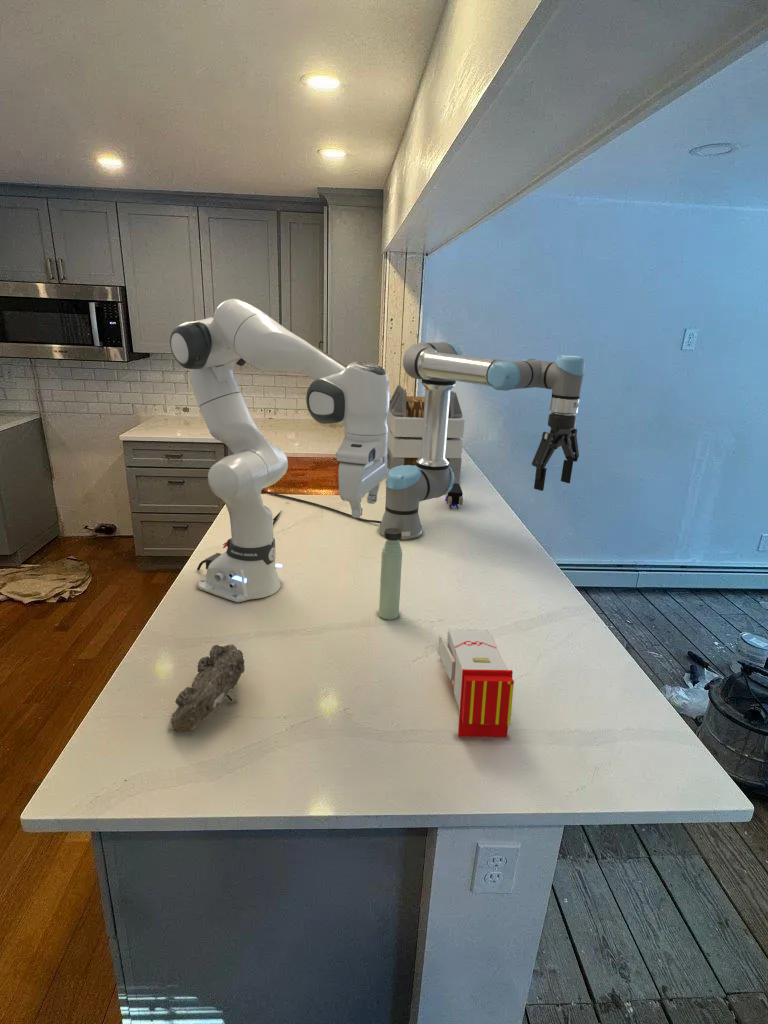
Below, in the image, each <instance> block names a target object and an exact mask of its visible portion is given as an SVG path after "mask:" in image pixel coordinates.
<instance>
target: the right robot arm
mask: <svg viewBox="0 0 768 1024" xmlns="http://www.w3.org/2000/svg"><path fill="white" fill-rule="evenodd" d="M585 365H586V360H585V358H584V357H582V356H578V355H566V354H565V355H564V354H563V355H558V356H557V357H556V360H555V361H549V360H541V359H536V358H524V359H521V360H506V359H505V360H504V359H503V360H502V359H496V358H487V357H479V356H471V355H464V354H463V352H462V350H461V349H460V347H459V346H457V345H456V344H455V343H451V342H445V341H443V342H442V341H441V342H440V341H439V342H438V341H437V342H417V343H414V344H412V345H411V346H409V347H408V348H407V350H406V351H405V353H404V355H403V358H402V366H403V369H404V372H405V373H406V374H407V375H408V376H409V377H411V378H412V379H415V380H421V385H422V386H423V387H424V389H425V392H424V397H425V404H424V419H423V434H422V449H421V457H420V458H418V459H417V461H416V466H413V465H401V466H396V467H394V468H392V469H390V468H389V470H388V471H387V476H386V479H385V504H384V505H385V507H384V508H385V509H384V513H383V515H382V519H381V520H375V519H367V518H362V517H359V518H355V517H352V514H350V513H347V512H344V511H341V510H338V509H335V508H332V507H329V506H326V505H323V504H320V503H315V502H312V501H310V500H309V501H308V500H305V499H301V498H297V497H293V496H288V495H284V494H280V493H276V492H271V491H267V490H264V489H262V490H261V493H264V494H267V495H272V496H275V497H276V496H277V497H280V498H284V499H289V500H291V501H297V502H301V503H305V504H309V505H313V506H316V507H319V508H322V509H326V510H329V511H332V512H334V513H338V514H341V515H343V516H347V517H348V518H352V519H356V520H358V521H362V522H366V523H375V524H379V527H378V533H379V534H380V535H381V536H382V537H384V532H385V529H387V528H397V529H400V530H401V531H402V537H401V539H400V540H399V541H410V540H415V539H418V538H420V537H421V536H422V535H423V525H422V524H421V518H420V515H419V507H420V506H419V505H420V502H423V501H427V500H431V499H437V498H440V497H443V496H446V494H447V493H448V492H449V491H450V490H451V489H452V487H453V484H454V473H452V469H451V467H450V466H449V462H448V461H447V459H446V458H445V453H446V441H447V428H448V416H449V404H450V392H451V391H452V389H453V388H454V387H455V386H456V384H457V382H461V383H465V384H473V385H479V386H487V387H491V388H492V389H494V390H496V391H503V392H504V391H511V390H520V389H532V388H533V389H534V388H539V389H546V390H551V398H550V404H549V413H548V418H547V419H548V420H547V426H548V427H549V428H550V431H549V432H548V431H543V432H542V435H541V440H540V442H539V445H538V447H537V449H536V452H535V454H534V457H533V460H532V461H531V466H533V467H535V475H534V477H535V478H534V485H533V489H534V490H537V491H539V492H543V491H544V489H545V484H546V483H545V482H546V476H547V468H546V466H547V465H548V463H549V461H550V459H551V457H552V456H553V454H554V453H555V451H556V450H557V449H558V448H560V447H561V449H562V452H563V455H564V458H565V459H563V463H562V468H561V469H562V470H561V475H560V482H562V483H566V484H571V478H572V472H573V466H574V463H576V462H578V461H579V457H580V453H579V444H578V428H576V423H577V419H578V416H577V414H578V412H579V411H578V410H579V406H580V397H581V391H582V385H583V380H584V376H585Z"/></svg>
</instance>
